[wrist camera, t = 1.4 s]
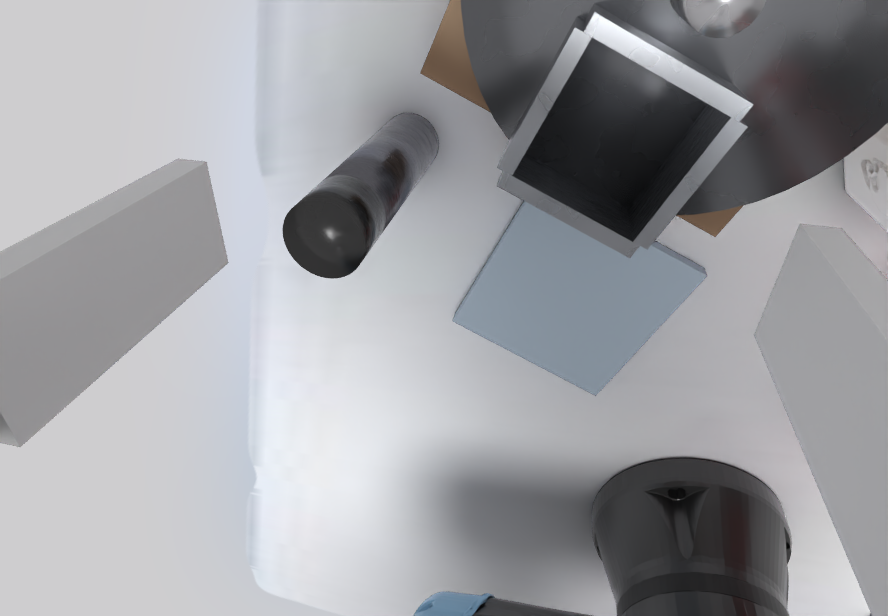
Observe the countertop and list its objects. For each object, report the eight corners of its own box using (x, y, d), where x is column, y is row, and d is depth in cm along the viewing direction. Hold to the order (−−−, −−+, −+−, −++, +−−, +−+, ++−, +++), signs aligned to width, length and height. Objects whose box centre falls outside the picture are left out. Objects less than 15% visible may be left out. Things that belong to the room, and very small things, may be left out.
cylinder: (424, 180, 36) (347, 291, 25) (374, 153, 36) (273, 253, 24) (448, 130, 34) (376, 227, 22) (395, 102, 34) (295, 184, 22)
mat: (595, 387, 42) (595, 395, 41) (455, 313, 41) (452, 321, 40) (704, 268, 35) (707, 275, 34) (538, 177, 34) (537, 182, 33)
